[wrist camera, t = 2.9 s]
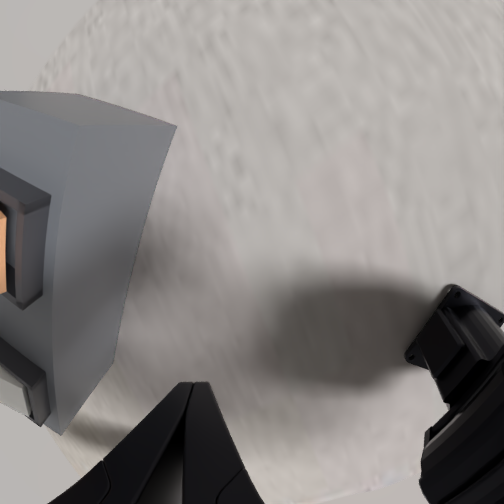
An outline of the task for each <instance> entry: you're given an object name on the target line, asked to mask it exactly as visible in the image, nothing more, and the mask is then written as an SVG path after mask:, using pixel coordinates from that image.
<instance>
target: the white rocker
mask: <svg viewBox="0 0 504 504" xmlns="http://www.w3.org/2000/svg"><path fill="white" fill-rule="evenodd" d="M0 403H2V404H4V405H6V406H8V407H10V408H12V409H13V410H15V411H17V412H19V413H22V414H24V415H26V416H28V417H29V416H30V414H31V411H32V407H31V403H30V399H29V394H28V389H27V387H26V386H25V385H23V384H22V383H21V382H19V381H18V380H17V379H16V378H15V377H13V376H12V375H11V374H10V373H8V372H7V371H6V370H5V369H4V368H2V367H1V366H0Z"/></svg>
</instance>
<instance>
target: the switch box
mask: <svg viewBox="0 0 504 504" xmlns="http://www.w3.org/2000/svg"><path fill="white" fill-rule="evenodd" d="M176 128H177V126H176V125H173V124H170V123H167V122H165V121H162V120H159V119H156V118H153V117H150V116H147V115H144V114H141V113H138V112H135V111H132V110H129V109H126V108H123V107H120V106H117V105H113V104H110V103H107V102H103V101H100V100H97V99H93V98H90V97H86V96H83V95H79V94H70V93H56V92H36V91H0V211H1V212H2V213H3V214H4V215H5V216H6V244H5V264H6V290H7V292H4V293H2V294H0V366H1V367H2V368H4V369H5V370H6V371H7V372H8V373H10V374H11V375H12V376H13V377H15V378H16V379H17V380H18V381H19V382H21V383H22V384H23V385H25V386H26V387H27V389H28V394H29V399H30V403H31V407H32V411H31V414H30V416H29V417H28V416H26V415H25V416H26V417H28V418H29V419H30V420H31V421H33V422H34V423H36V424H37V425H38V426H40V427H41V426H42V425H43V424H45V425H46V426H47V427H49V428H50V429H52V430H53V431H55V432H56V433H58V434H59V435H62V434H63V432H64V431H65V429H66V428H67V426H68V425H69V424H70V422H71V421H72V419H73V418H74V416H75V415H76V414H77V412H78V411H79V409H80V408H81V407H82V405H83V404H84V402H85V401H86V400H87V398H88V397H89V395H90V394H91V393H92V391H93V390H94V388H95V387H96V386H97V384H98V383H99V382H100V380H101V379H102V378H103V376H104V375H105V373H106V372H107V371H108V369H109V368H110V367H111V365H112V364H113V361H114V355H115V349H116V344H117V338H118V333H119V328H120V323H121V318H122V313H123V308H124V303H125V299H126V294H127V290H128V285H129V281H130V277H131V273H132V269H133V265H134V261H135V257H136V253H137V249H138V246H139V242H140V238H141V235H142V231H143V227H144V224H145V220H146V217H147V214H148V210H149V207H150V204H151V200H152V197H153V194H154V191H155V188H156V185H157V182H158V179H159V176H160V173H161V170H162V167H163V164H164V161H165V158H166V155H167V152H168V149H169V147H170V144H171V141H172V138H173V136H174V133H175V130H176Z"/></svg>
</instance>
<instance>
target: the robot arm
mask: <svg viewBox="0 0 504 504" xmlns="http://www.w3.org/2000/svg"><path fill="white" fill-rule="evenodd" d="M456 292H458V294H457V295H455V293H456ZM454 295H455V296H454ZM503 323H504V314H503V313H502V312H501V311H499V310H498V309H496V308H495V307H493V306H491V305H490V304H488V303H487V302H485V301H483V300H482V299H480V298H478V297H477V296H475V295H473V294H472V293H470V292H469V291H467V290H465V289H463V288H462V287H460V286H458V285H456V286H454V287H452V288H451V289H450V291H449V292H448V294H447V295H446V297H445V299H444V300H443V302H442V303H441V304H440V306H439V307H438V309H437V310H436V312H435V313H434V314H433V316H432V317H431V319H430V320H429V321H428V323H427V324H426V326H425V327H424V328H423V330H422V331H421V332H420V334H419V335H418V336H417V338H416V339H415V341H414V342H413V343H412V344H411V346H410V347H409V348H408V350H407V351H406V352H405V354H404V357H405V359H406V361H407V362H408V363H411V364H414V365H416V366H419V367H422V368H425V369H427V370H429V371H430V373H431V376H432V378H433V379H434V380H435V383H436V385H437V387H438V390H439V392H440V395H441V397H442V399H443V402H444V403H446V405H447V408H448V410H449V411H448V412H447V413H446V414H445V415H444V416H443V417H442V418H441V419H440V420H439V421H438V422H437V423H436V424H435V425H434V426H433V427H430V428H429V429H428V430H427V431H426V432H425V437H424V450H423V453H422V458H421V478H420V479H419V485H420V488H421V490H422V493H423V495H424V496H425V498H426V500H427V501H428V503H429V504H504V332H503V331H502V330H501V328H500V327H501V326H502V324H503ZM412 354H413V355H412ZM410 355H412V356H410ZM409 356H410V357H409ZM48 504H265V503H264V502H263V500H262V499H261V497H260V496H259V494H258V492H257V490H256V488H255V486H254V485H253V483H252V481H251V479H250V477H249V474H248V472H247V470H246V469H245V466H244V464H243V462H242V460H241V458H240V455H239V453H238V451H237V449H236V446H235V444H234V442H233V440H232V437H231V435H230V433H229V430H228V428H227V425H226V423H225V421H224V418H223V416H222V413H221V411H220V409H219V406H218V404H217V401H216V399H215V396H214V394H213V391H212V389H211V386H210V384H209V382H195V383H193V382H180V383H178V384H177V385H176V386H175V387H174V388H173V389H172V390H171V391H170V392H169V393H168V394H167V395H166V397H165V398H164V399H163V400H162V401H161V402H160V403H159V404H158V405H157V406H156V407H155V408H154V409H153V410H152V411H151V412H150V413H149V414H148V415H147V416H146V417H145V418H144V419H143V420H142V421H141V422H140V423H139V424H138V425H137V426H136V427H135V428H134V429H133V430H132V431H131V432H130V433H129V434H128V435H127V436H126V437H125V438H124V439H123V440H122V441H121V442H120V443H119V444H118V445H117V446H116V447H115V448H114V449H113V450H112V451H111V452H110V453H109V454H108V455H107V456H106V457H104V458H103V461H102V460H101V461H100V462H99V463H98V464H97V465H96V466H94V467H93V468H92V469H91V470H90V471H89V472H88V473H87V474H86V475H85V476H83V477H82V478H81V479H80V480H79V481H78V482H76V483H75V484H74V485H73V486H71V487H70V488H69V489H67V490H66V491H65V492H64V493H62V494H61V495H59V496H58V497H56V498H55V499H54V500H52V501H51V502H49V503H48Z"/></svg>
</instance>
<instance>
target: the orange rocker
mask: <svg viewBox="0 0 504 504" xmlns="http://www.w3.org/2000/svg"><path fill="white" fill-rule="evenodd" d="M5 244H6V216H5V215H4V214H3V213H2V212H1V211H0V294H2V293H4V292H7V290H6V264H5Z"/></svg>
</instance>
